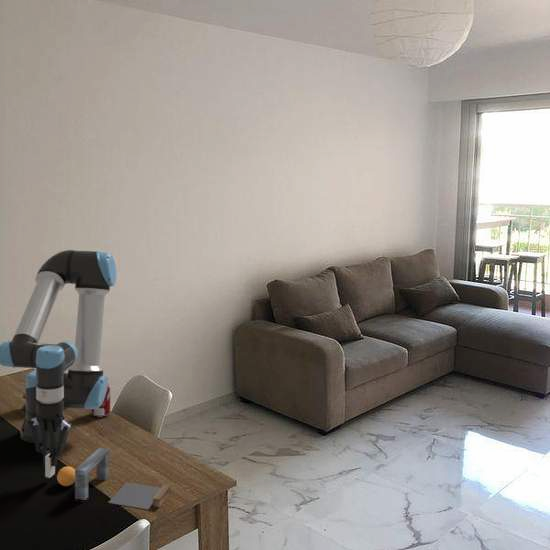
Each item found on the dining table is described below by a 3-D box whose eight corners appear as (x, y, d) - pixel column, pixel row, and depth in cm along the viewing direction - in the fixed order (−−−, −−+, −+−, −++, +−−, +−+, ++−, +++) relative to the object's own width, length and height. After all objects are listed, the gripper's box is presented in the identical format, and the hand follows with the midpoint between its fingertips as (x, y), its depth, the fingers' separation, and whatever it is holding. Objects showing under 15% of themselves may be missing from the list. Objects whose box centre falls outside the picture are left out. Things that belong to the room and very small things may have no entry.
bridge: (75, 499, 174) (75, 469, 173) (99, 476, 188) (99, 447, 187) (84, 501, 174) (85, 471, 172) (108, 477, 188) (109, 449, 186)
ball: (64, 469, 178) (72, 486, 178) (76, 461, 183) (83, 478, 183) (50, 474, 180) (57, 491, 180) (62, 465, 185) (69, 482, 185)
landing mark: (108, 503, 174) (108, 502, 174) (126, 482, 185) (126, 482, 185) (148, 510, 172) (148, 509, 171) (164, 488, 183) (164, 488, 183)
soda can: (104, 419, 230) (105, 388, 228) (88, 416, 231) (88, 386, 229) (113, 412, 236) (113, 382, 234) (96, 410, 238) (97, 380, 236)
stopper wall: (152, 506, 173) (153, 498, 173) (163, 492, 181) (163, 484, 181) (159, 507, 173) (159, 499, 173) (170, 493, 181) (170, 485, 180)
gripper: (22, 400, 177) (22, 477, 181) (63, 406, 174) (63, 484, 178) (37, 392, 184) (37, 466, 188) (77, 397, 181) (76, 473, 185)
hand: (50, 475), depth 183 cm, fingers closed
